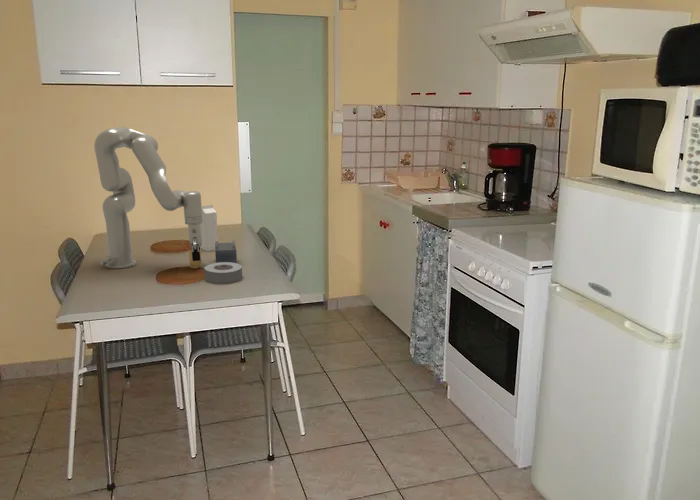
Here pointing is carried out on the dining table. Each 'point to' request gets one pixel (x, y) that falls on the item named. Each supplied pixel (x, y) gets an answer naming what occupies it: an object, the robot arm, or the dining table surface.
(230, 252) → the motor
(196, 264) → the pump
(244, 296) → the dining table surface
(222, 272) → the tape roll
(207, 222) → the milk
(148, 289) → the dining table surface
